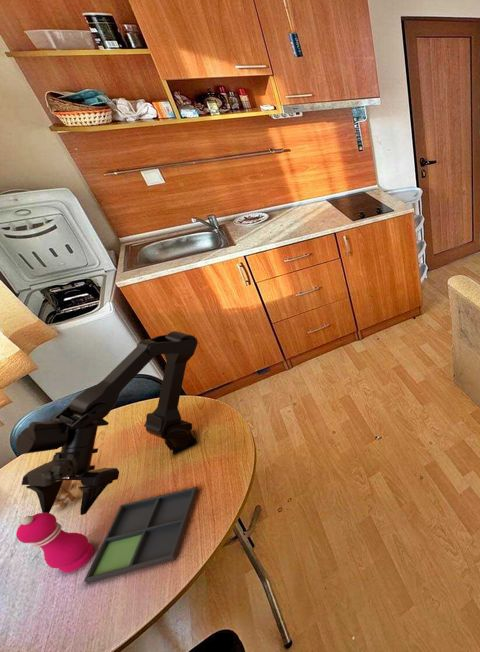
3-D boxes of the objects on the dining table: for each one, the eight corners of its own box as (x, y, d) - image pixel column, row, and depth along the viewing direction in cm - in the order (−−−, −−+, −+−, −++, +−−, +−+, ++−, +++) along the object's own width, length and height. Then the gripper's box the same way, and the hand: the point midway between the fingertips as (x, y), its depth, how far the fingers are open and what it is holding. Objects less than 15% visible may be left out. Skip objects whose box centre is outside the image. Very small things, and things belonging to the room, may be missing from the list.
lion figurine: (81, 509, 103) (61, 492, 98) (55, 520, 100) (33, 503, 95) (89, 468, 113) (71, 451, 108) (66, 478, 110) (47, 460, 105)
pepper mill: (74, 544, 95) (21, 503, 84) (104, 541, 96) (55, 500, 85) (50, 576, 89) (-10, 537, 78) (82, 573, 90) (27, 534, 79)
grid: (124, 508, 103) (120, 505, 102) (198, 490, 107) (195, 487, 106) (87, 583, 88) (83, 580, 87) (175, 559, 92) (172, 556, 91)
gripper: (1, 452, 85) (-17, 527, 82) (81, 453, 85) (66, 528, 81) (55, 443, 96) (41, 509, 93) (126, 444, 95) (114, 510, 92)
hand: (64, 514), depth 89 cm, fingers open, 9 cm apart
